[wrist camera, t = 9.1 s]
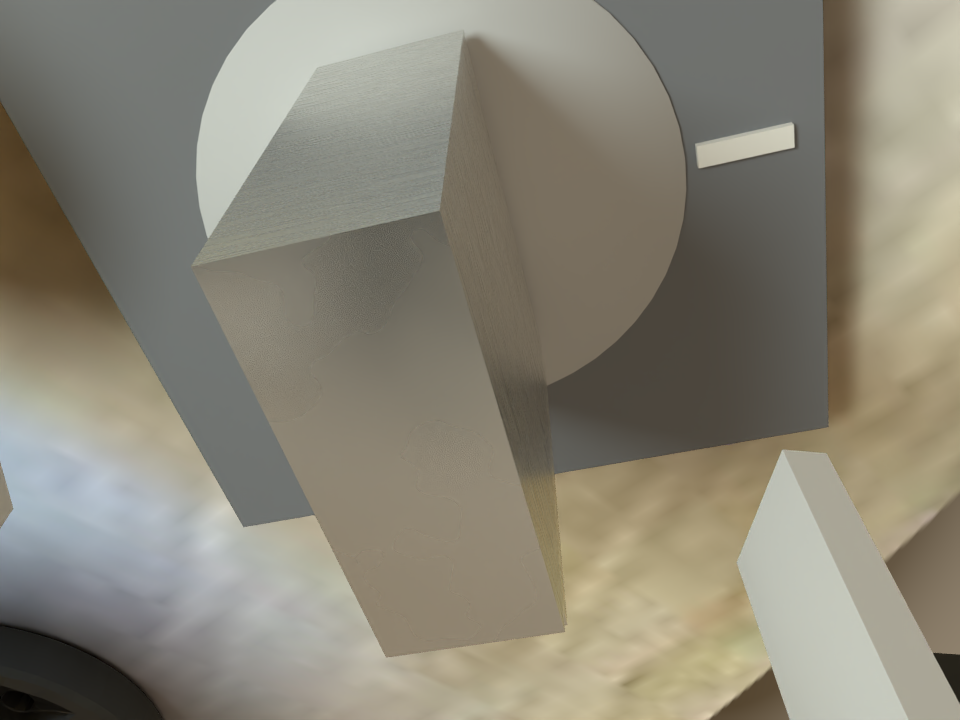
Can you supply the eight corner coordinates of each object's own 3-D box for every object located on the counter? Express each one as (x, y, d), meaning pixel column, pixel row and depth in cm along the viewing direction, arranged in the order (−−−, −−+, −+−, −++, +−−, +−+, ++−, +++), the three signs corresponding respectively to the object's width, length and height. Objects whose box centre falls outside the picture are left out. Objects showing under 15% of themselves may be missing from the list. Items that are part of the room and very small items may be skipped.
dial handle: (317, 66, 20) (190, 266, 12) (463, 29, 19) (439, 210, 11) (426, 379, 25) (392, 671, 17) (544, 356, 24) (569, 646, 16)
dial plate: (259, 478, 31) (242, 531, 29) (-53, -110, 20) (-119, -96, 18) (804, 380, 28) (830, 431, 26) (780, -368, 18) (821, -390, 15)
